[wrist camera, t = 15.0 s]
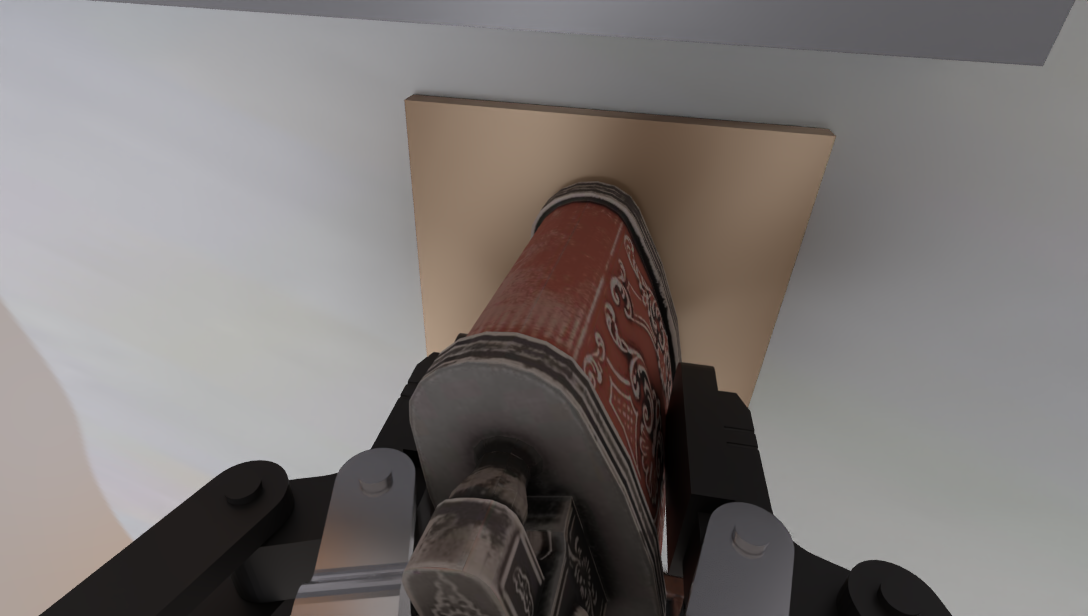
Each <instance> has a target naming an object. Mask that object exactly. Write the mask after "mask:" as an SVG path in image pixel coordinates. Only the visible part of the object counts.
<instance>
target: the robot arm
mask: <svg viewBox="0 0 1088 616" xmlns="http://www.w3.org/2000/svg"><path fill="white" fill-rule="evenodd" d="M467 335H468V334H465V333H459V334H458V336H457V338H456V340H455V342H456V341H457V340H458V339H460V338H464V337H466V336H467ZM439 354H440V353H439V352H433V353H431V354H430V355H429V356H428V357H426V358H425V359H424V360H423V361H421V362H420V363H419V364H417V366H416V367H415V369H414V371H413V373H412V375H411V377H410V378H409V380H408V384H407V385H406V386H405V388H404V389H403V391H402V393H401V397H400V398H399V399H398V400H397V402H396V404H395V406H394V408H393V410H392V411H391V413H390V415H389V417H388V419H387V420H386V422H385V424H384V426H383V428H382V430H381V431H380V433H379V435H378V437H377V439H376V441H375V442H374V444H373V446H372V448H371V449H370V450H366V451H364V452H361V453H359V454H357V455H355V456H354V457H352V458H351V459H349V460H348V461H347V462H346V463H345V464H344V465H343V466H342V467H341V469H340V470H339V472H338V473H335V474H331V475H326V476H319V477H311V478H302V479H294V480H288V476H287V474H286V472H285V470H284V469H283V468H282V467H281V466H279V465H278V464H276V463H273V462H270V461H262V460H257V461H249V462H244V463H241V464H238V465H235V466H233V467H231V468H229V469H227V470H225V471H223V472H222V473H220V474H219V475H218V476H216V477H215V478H214V479H212V480H211V481H210V482H209V483H207V484H206V485H205V486H203V487H202V488H201V489H200V490H198V491H197V492H196V493H195V494H193V495H192V496H191V497H189V498H188V499H187V500H186V501H184V502H183V503H182V504H181V505H179V506H178V507H177V508H175V509H174V510H173V511H172V512H170V513H169V514H168V515H167V516H165V517H164V518H163V519H161V520H160V521H159V522H158V523H156V524H155V525H154V526H153V527H151V528H150V529H149V530H147V531H146V532H145V533H144V534H142V535H141V536H140V537H139V538H137V539H136V540H135V541H133V542H132V543H131V544H130V545H128V546H127V547H126V548H125V549H123V550H122V551H121V552H120V553H118V554H117V555H116V556H114V557H113V558H112V559H111V560H109V561H108V562H107V563H105V564H104V565H103V566H102V567H100V568H99V569H98V570H97V571H95V572H94V573H93V574H91V575H90V576H89V577H88V578H86V579H85V580H84V581H83V582H81V583H80V584H79V585H77V586H76V587H75V588H74V589H72V590H71V591H70V592H69V593H67V594H66V595H65V596H63V597H62V598H61V599H60V600H58V601H57V602H56V603H54V604H53V605H52V606H51V607H50V608H48V609H47V610H46V611H44V612H43V613H42V614H40V615H39V616H290V615H291V616H419V614H418V613H417V611H416V609H415V608H414V606H413V604H412V602H411V601H410V599H409V597H408V596H407V594H406V591H405V589H404V587H403V584H402V582H401V581H402V576H403V572H404V570H405V568H406V566H407V564H408V562H409V560H410V558H411V556H412V554H413V552H414V550H415V548H416V546H417V544H418V542H419V540H420V539H421V537H422V535H423V533H424V531H425V529H426V527H427V525H428V523H429V521H430V519H431V517H432V515H433V513H434V511H435V508H434V506H433V503H432V501H431V498H430V496H429V493H428V489H427V485H426V481H425V477H424V474H423V470H422V466H421V462H420V458H419V455H418V451H417V447H416V443H415V439H414V436H413V432H412V428H411V424H410V417H409V400H410V399H411V397H412V395H413V393H414V391H415V389H416V388H417V386H418V384H419V382H420V381H421V379H422V378H423V377H424V375H425V374H426V372H427V371H428V369H429V368H430V367H431V365H432V364H433V362H434V361H435V360H436V358H437V357H438V355H439ZM665 497H666V527H667V558H668V575H673V576H679V577H683V584H684V598H683V601H682V605H681V608H680V611H679V615H678V616H952V615H951V613H950V612H949V611H948V610H947V608H946V607H945V606H944V604H943V603H942V602H941V600H940V599H939V598H938V596H937V595H936V594H935V593H934V592H933V590H932V589H931V588H930V587H929V586H928V585H927V584H926V583H925V582H923V581H922V580H921V579H920V578H918V577H917V576H916V575H914V574H913V573H911V572H910V571H908V570H906V569H904V568H902V567H900V566H898V565H895V564H893V563H889V562H885V561H879V560H868V561H864V562H861V563H859V564H857V565H856V566H855V567H854V568H853V569H852V570H851V571H849V570H847V569H845V568H843V567H840V566H838V565H836V564H834V563H831V562H829V561H827V560H824V559H822V558H820V557H818V556H815V555H813V554H811V553H809V552H808V551H806V550H805V549H803V548H801V547H800V546H799V545H797V544H796V543H795V542H793V540H792V538H791V535H790V534H789V532H788V530H787V529H786V527H785V526H784V525H783V524H782V522H780V521H779V520H778V519H777V518H776V517H775V516H774V515H773V512H772V508H771V504H770V499H769V494H768V490H767V485H766V481H765V476H764V472H763V467H762V463H761V458H760V454H759V450H758V444H757V440H756V435H755V434H754V426H753V422H752V417H751V413H750V410H749V409H748V408H747V406H746V405H745V404H744V402H743V401H742V400H741V398H740V397H739V396H738V394H737V393H733V392H726V391H718V386H717V380H716V373H715V368H714V367H713V366H708V365H700V364H693V363H685V362H679V363H678V365H677V369H676V373H675V377H674V382H673V386H672V391H671V395H670V399H669V404H668V408H667V413H666V434H665Z"/></svg>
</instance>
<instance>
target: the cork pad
mask: <svg viewBox="0 0 1088 616" xmlns="http://www.w3.org/2000/svg"><path fill="white" fill-rule="evenodd" d="M405 111H406V123H407V134H408V145H409V157H410V168H411V179H412V191H413V202H414V213H415V225H416V236H417V247H418V259H419V270H420V281H421V293H422V304H423V315H424V327H425V338H426V349H427V357H428V356H429V355H430V354H431V353H433V352H439V353H440V352H442V351H443V350H444V349H446V348H447V347H449V346H450V345H451V344H453V343H454V342H455V340H456V338H457V336H458V334H459V333H465V334H468V333H469V332H470V330H471V329H472V327H473V326H474V324H475V323H476V321H477V320H478V318H479V317H480V315H481V314H482V312H483V311H484V309H485V308H486V306H487V305H488V303H489V302H490V300H491V299H492V297H493V295H494V294H495V292H496V291H497V289H498V288H499V286H500V285H501V283H502V282H503V280H504V279H505V277H506V276H507V274H508V273H509V271H510V270H511V268H512V267H513V265H514V264H515V262H516V261H517V259H518V258H519V256H520V255H521V253H522V252H523V250H524V249H525V247H526V246H527V244H528V243H529V241H530V238H531V230H532V224H533V223H534V221H535V219H536V217H537V216H538V214H539V212H540V211H541V209H542V208H543V206H544V205H545V204H546V202H547V201H548V199H549V198H550V197H552V196H553V195H554V194H555V193H557V192H558V191H559V190H560V189H562V188H564V187H567V186H569V185H572V184H575V183H578V182H590V181H599V182H603V183H606V184H610V185H614V186H616V187H618V188H619V189H621V190H622V191H624V192H625V193H627V194H628V195H630V196H631V197H632V199H633V200H634V202H635V203H636V204H637V206H638V207H639V209H640V211H641V213H642V216H643V218H644V220H645V223H646V225H647V228H648V230H649V232H650V235H651V237H652V239H653V242H654V244H655V247H656V249H657V251H658V254H659V256H660V258H661V261H662V263H663V267H664V270H665V274H666V278H667V281H668V285H669V289H670V292H671V296H672V299H673V303H674V307H675V310H676V314H677V318H678V327H679V337H680V347H681V356H682V362H685V363H693V364H700V365H708V366H713V367H714V368H715V373H716V380H717V386H718V391H726V392H733V393H737V394H738V396H739V397H740V398H741V400H742V401H743V402H744V404H745V405H746V406H747V408H748V406H749V403H750V400H751V397H752V394H753V391H754V388H755V384H756V381H757V378H758V375H759V372H760V369H761V366H762V363H763V360H764V357H765V354H766V351H767V348H768V344H769V341H770V338H771V335H772V332H773V329H774V326H775V323H776V320H777V317H778V314H779V311H780V307H781V304H782V301H783V298H784V295H785V292H786V289H787V286H788V283H789V280H790V277H791V274H792V270H793V267H794V264H795V261H796V258H797V255H798V252H799V249H800V246H801V243H802V240H803V237H804V234H805V230H806V227H807V224H808V221H809V218H810V215H811V212H812V209H813V206H814V203H815V200H816V197H817V193H818V190H819V187H820V184H821V181H822V178H823V175H824V172H825V169H826V166H827V163H828V160H829V157H830V153H831V150H832V147H833V144H834V141H835V138H836V136H835V135H834V134H833V133H832V132H831V131H830V130H829V129H822V128H810V127H798V126H786V125H774V124H762V123H750V122H738V121H725V120H713V119H701V118H689V117H677V116H665V115H653V114H641V113H629V112H617V111H605V110H593V109H581V108H569V107H557V106H545V105H533V104H521V103H508V102H496V101H484V100H472V99H460V98H448V97H436V96H424V95H412V96H410V97H409V98H407V99H405Z"/></svg>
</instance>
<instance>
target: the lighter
mask: <svg viewBox="0 0 1088 616" xmlns="http://www.w3.org/2000/svg"><path fill="white" fill-rule="evenodd" d="M679 362H682V356H681V347H680V337H679V327H678V318H677V314H676V310H675V307H674V303H673V299H672V296H671V292H670V289H669V285H668V281H667V278H666V274H665V270H664V267H663V263H662V261H661V258H660V256H659V254H658V251H657V249H656V247H655V244H654V242H653V239H652V237H651V235H650V232H649V230H648V228H647V225H646V223H645V220H644V218H643V216H642V213H641V211H640V209H639V207H638V206H637V204H636V203H635V202H634V200H633V199H632V197H631V196H630V195H628V194H627V193H625V192H624V191H622V190H621V189H619V188H618V187H616V186H614V185H610V184H606V183H603V182H599V181H590V182H578V183H575V184H572V185H569V186H567V187H564V188H562V189H560V190H559V191H558V192H557V193H555V194H554V195H553V196H552V197H550V198H549V199H548V201H547V202H546V204H545V205H544V206H543V208H542V209H541V211H540V212H539V214H538V216H537V217H536V219H535V221H534V223H533V224H532V230H531V238H530V241H529V243H528V244H527V246H526V247H525V249H524V250H523V252H522V253H521V255H520V256H519V258H518V259H517V261H516V262H515V264H514V265H513V267H512V268H511V270H510V271H509V273H508V274H507V276H506V277H505V279H504V280H503V282H502V283H501V285H500V286H499V288H498V289H497V291H496V292H495V294H494V295H493V297H492V299H491V300H490V302H489V303H488V305H487V306H486V308H485V309H484V311H483V312H482V314H481V315H480V317H479V318H478V320H477V321H476V323H475V324H474V326H473V327H472V329H471V330H470V332H469V333H468V335H467V336H466V337H464V338H460V339H458V340H457V341H456V342H454V343H453V344H451V345H450V346H449V347H447V348H446V349H444V350H443V351H442V352H440V354H439V355H438V357H437V358H436V360H435V361H434V362H433V364H432V365H431V367H430V368H429V369H428V371H427V372H426V374H425V375H424V377H423V378H422V379H421V381H420V382H419V384H418V386H417V388H416V389H415V391H414V393H413V395H412V397H411V399H410V400H409V417H410V424H411V428H412V432H413V436H414V439H415V443H416V447H417V451H418V455H419V458H420V462H421V466H422V470H423V474H424V477H425V481H426V485H427V489H428V493H429V496H430V498H431V501H432V503H433V506H434V508H435V511H434V513H433V515H432V517H431V519H430V521H429V523H428V525H427V527H426V529H425V531H424V533H423V535H422V537H421V539H420V540H419V542H418V544H417V546H416V548H415V550H414V552H413V554H412V556H411V558H410V560H409V562H408V564H407V566H406V568H405V570H404V572H403V576H402V581H401V582H402V584H403V587H404V589H405V591H406V594H407V596H408V597H409V599H410V601H411V602H412V604H413V606H414V608H415V609H416V611H417V613H418V614H419V616H666V586H665V580H664V574H663V567H662V561H661V551H662V540H663V528H664V516H665V505H666V497H665V434H666V413H667V408H668V404H669V399H670V395H671V391H672V386H673V382H674V377H675V373H676V369H677V365H678V363H679Z"/></svg>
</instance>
